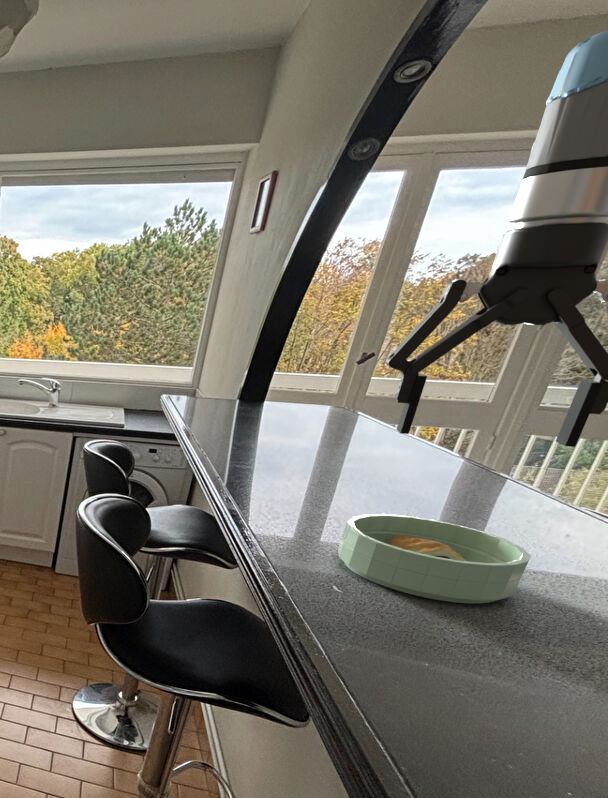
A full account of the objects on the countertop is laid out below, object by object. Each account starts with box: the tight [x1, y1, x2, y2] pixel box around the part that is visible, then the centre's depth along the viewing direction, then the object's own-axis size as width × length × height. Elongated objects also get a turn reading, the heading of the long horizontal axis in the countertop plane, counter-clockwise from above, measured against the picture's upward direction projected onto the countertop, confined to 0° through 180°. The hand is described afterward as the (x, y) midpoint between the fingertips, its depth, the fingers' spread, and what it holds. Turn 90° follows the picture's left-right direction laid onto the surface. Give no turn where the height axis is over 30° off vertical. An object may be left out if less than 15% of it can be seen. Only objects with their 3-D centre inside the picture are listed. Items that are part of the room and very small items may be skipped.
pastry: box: [387, 536, 466, 561], centre depth 72 cm, size 9×7×4 cm
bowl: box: [337, 513, 532, 604], centre depth 71 cm, size 16×16×5 cm
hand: (479, 438), depth 66 cm, fingers open, 13 cm apart
